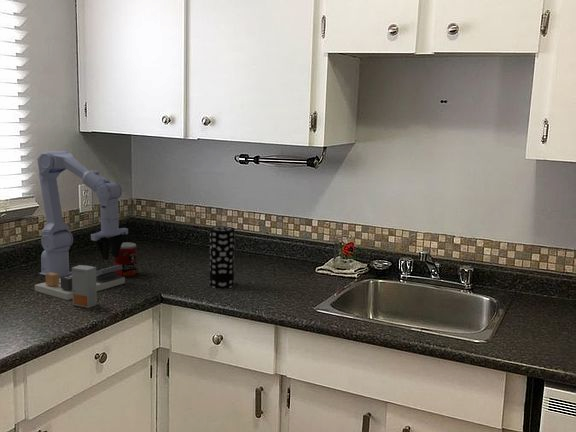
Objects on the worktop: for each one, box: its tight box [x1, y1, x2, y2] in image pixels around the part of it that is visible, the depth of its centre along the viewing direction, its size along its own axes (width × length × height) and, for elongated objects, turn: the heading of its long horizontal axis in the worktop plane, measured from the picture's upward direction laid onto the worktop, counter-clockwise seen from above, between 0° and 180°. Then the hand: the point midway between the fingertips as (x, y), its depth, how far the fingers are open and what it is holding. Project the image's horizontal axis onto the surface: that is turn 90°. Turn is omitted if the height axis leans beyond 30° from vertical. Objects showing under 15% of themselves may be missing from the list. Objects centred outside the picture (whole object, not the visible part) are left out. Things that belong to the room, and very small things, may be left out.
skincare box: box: [71, 264, 98, 309], centre depth 188 cm, size 6×4×12 cm
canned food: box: [114, 241, 138, 278], centre depth 223 cm, size 8×8×11 cm
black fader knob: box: [60, 275, 72, 290], centre depth 197 cm, size 4×2×4 cm
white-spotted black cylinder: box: [209, 225, 235, 290], centre depth 212 cm, size 8×8×20 cm
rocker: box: [96, 265, 123, 276], centre depth 211 cm, size 7×9×2 cm
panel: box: [34, 271, 126, 301], centre depth 207 cm, size 16×24×4 cm, turn 148°
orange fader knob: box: [44, 272, 59, 286], centre depth 201 cm, size 4×2×4 cm
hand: (110, 258), depth 209 cm, fingers open, 4 cm apart
